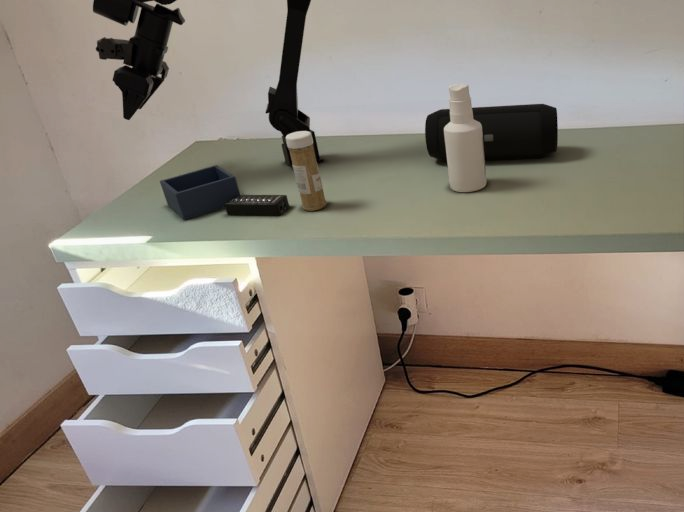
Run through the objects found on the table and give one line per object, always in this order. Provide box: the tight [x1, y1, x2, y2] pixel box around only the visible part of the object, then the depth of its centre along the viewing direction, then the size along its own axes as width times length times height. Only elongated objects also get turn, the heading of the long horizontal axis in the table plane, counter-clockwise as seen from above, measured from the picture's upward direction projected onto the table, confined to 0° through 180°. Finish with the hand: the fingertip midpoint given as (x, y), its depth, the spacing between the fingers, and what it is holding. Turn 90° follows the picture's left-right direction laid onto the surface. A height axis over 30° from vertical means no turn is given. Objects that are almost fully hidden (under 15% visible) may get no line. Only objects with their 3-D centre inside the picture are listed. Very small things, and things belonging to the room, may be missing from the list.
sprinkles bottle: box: [286, 131, 328, 212], centre depth 127 cm, size 5×5×14 cm
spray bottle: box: [444, 83, 488, 193], centre depth 127 cm, size 7×7×18 cm
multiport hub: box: [224, 194, 290, 217], centre depth 131 cm, size 4×11×2 cm, turn 75°
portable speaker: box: [424, 103, 559, 162], centre depth 141 cm, size 26×10×10 cm, turn 81°
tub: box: [159, 164, 241, 221], centre depth 136 cm, size 11×10×5 cm
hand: (132, 113), depth 142 cm, fingers open, 9 cm apart
